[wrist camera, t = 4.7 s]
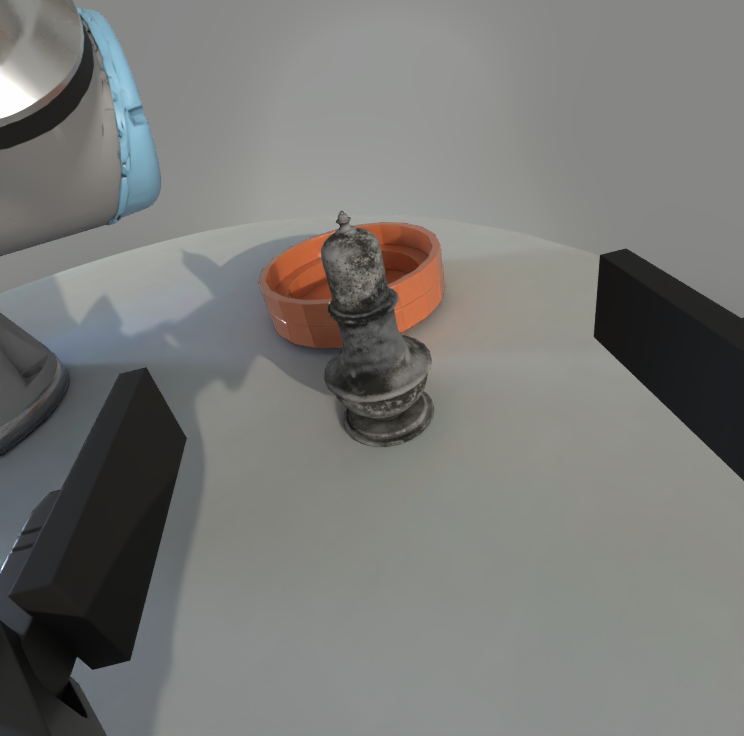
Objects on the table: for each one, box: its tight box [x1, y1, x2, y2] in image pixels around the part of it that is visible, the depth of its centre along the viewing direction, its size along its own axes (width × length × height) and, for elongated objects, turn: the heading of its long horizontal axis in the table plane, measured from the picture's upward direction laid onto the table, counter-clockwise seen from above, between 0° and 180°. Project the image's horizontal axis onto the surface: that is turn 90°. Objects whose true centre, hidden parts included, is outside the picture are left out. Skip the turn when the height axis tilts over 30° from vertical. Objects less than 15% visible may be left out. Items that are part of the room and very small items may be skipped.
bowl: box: [258, 222, 445, 348], centre depth 39 cm, size 14×14×4 cm
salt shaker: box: [321, 211, 434, 447], centre depth 25 cm, size 6×6×12 cm
